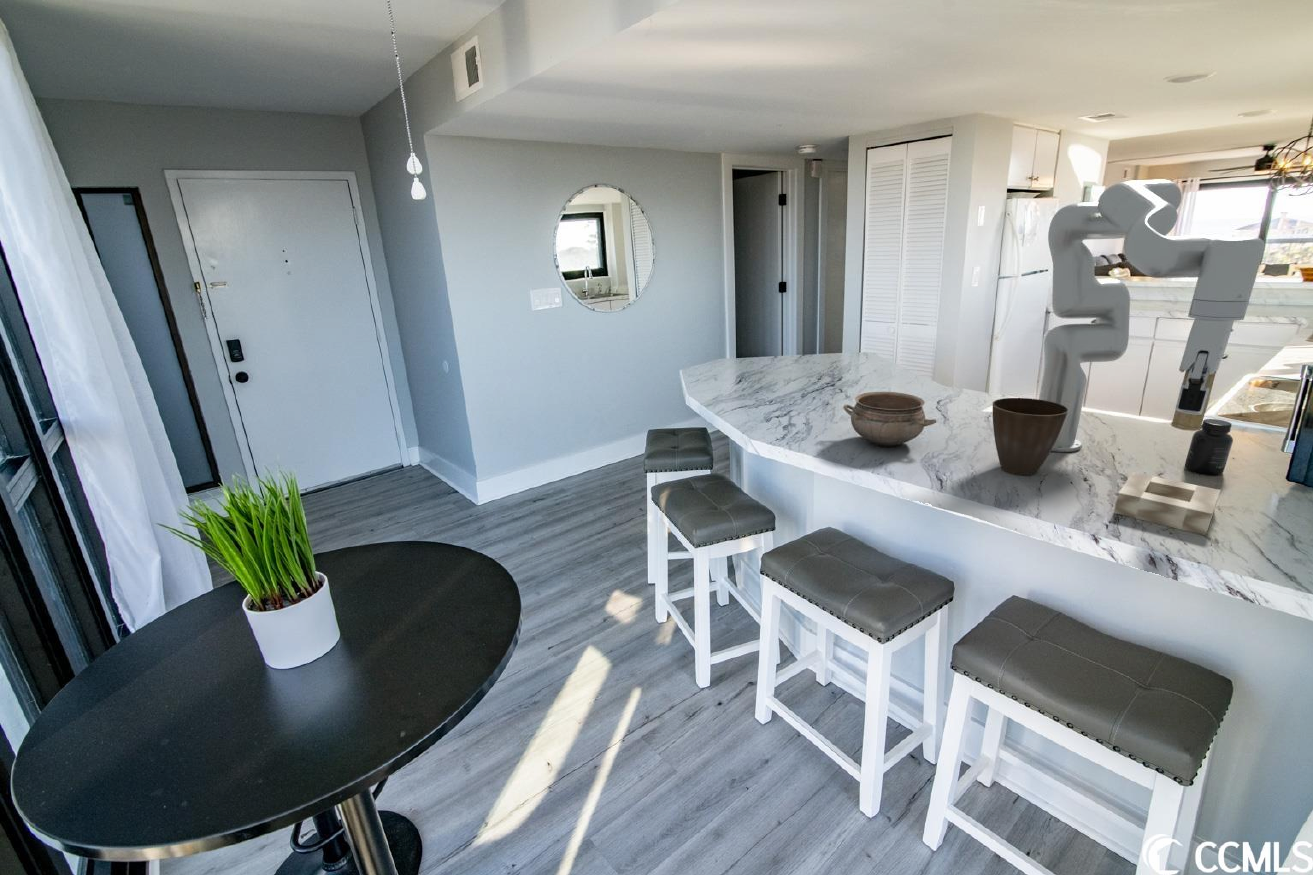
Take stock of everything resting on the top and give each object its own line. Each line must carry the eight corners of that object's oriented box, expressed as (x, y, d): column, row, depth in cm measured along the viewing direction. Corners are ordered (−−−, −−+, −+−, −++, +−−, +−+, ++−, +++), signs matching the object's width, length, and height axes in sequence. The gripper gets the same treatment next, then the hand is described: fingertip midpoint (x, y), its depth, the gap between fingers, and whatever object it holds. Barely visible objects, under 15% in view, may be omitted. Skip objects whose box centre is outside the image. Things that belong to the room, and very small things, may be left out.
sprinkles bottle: (1204, 428, 113) (1224, 359, 109) (1195, 433, 111) (1215, 362, 107) (1175, 422, 117) (1192, 355, 112) (1165, 427, 115) (1183, 358, 110)
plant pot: (971, 468, 144) (980, 405, 139) (1000, 454, 152) (1010, 393, 147) (1037, 487, 132) (1050, 419, 127) (1066, 470, 141) (1079, 406, 135)
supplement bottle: (1175, 466, 141) (1189, 418, 137) (1202, 464, 141) (1216, 416, 137) (1203, 477, 134) (1218, 427, 130) (1231, 475, 135) (1246, 425, 131)
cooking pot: (944, 442, 162) (949, 399, 158) (919, 463, 148) (925, 416, 144) (856, 425, 178) (859, 386, 174) (827, 443, 164) (829, 401, 160)
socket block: (1113, 512, 120) (1118, 492, 119) (1128, 491, 129) (1132, 472, 128) (1205, 535, 110) (1212, 513, 109) (1214, 510, 119) (1220, 490, 118)
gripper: (1196, 303, 115) (1172, 394, 121) (1183, 314, 104) (1157, 413, 110) (1250, 305, 109) (1222, 400, 115) (1241, 317, 99) (1211, 421, 105)
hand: (1191, 406), depth 113 cm, fingers closed on sprinkles bottle, 4 cm apart
